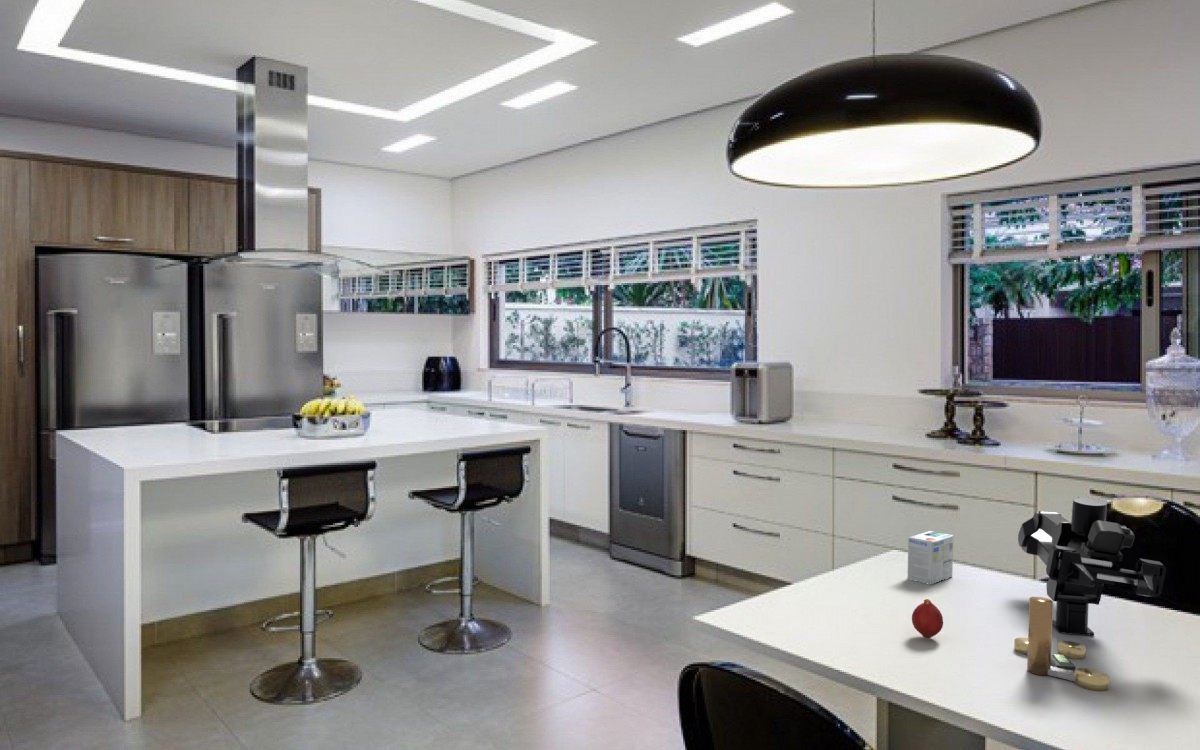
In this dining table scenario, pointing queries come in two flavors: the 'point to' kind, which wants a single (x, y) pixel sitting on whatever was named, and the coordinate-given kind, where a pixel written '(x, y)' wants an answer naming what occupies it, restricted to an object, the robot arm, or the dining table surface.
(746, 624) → the dining table surface
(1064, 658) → the tribrach plate
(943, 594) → the dining table surface
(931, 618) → the onion
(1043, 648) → the knob lever
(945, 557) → the light bulb box
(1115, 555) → the robot arm
